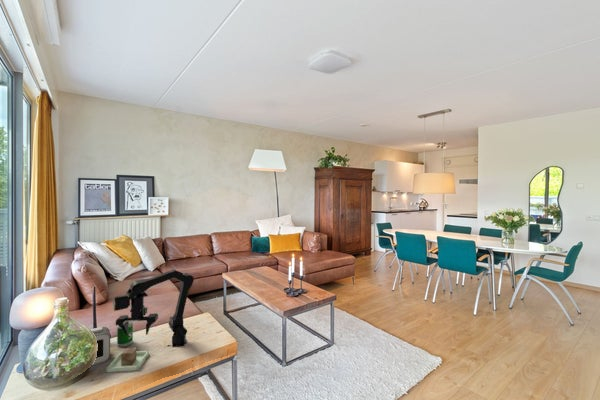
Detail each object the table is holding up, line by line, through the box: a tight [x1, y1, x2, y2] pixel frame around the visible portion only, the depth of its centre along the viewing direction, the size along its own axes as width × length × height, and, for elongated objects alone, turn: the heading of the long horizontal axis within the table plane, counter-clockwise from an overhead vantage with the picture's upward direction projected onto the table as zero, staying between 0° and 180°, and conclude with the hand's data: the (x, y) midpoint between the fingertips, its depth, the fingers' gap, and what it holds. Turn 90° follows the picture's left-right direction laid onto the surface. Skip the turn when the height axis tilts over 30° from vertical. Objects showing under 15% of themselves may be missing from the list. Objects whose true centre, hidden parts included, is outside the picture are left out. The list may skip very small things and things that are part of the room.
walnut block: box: [121, 347, 138, 366], centre depth 142 cm, size 5×5×6 cm
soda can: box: [116, 321, 134, 347], centre depth 160 cm, size 8×8×12 cm
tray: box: [105, 350, 150, 373], centre depth 142 cm, size 14×14×2 cm
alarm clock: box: [89, 326, 111, 366], centre depth 144 cm, size 16×11×16 cm
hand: (137, 335), depth 148 cm, fingers open, 9 cm apart
